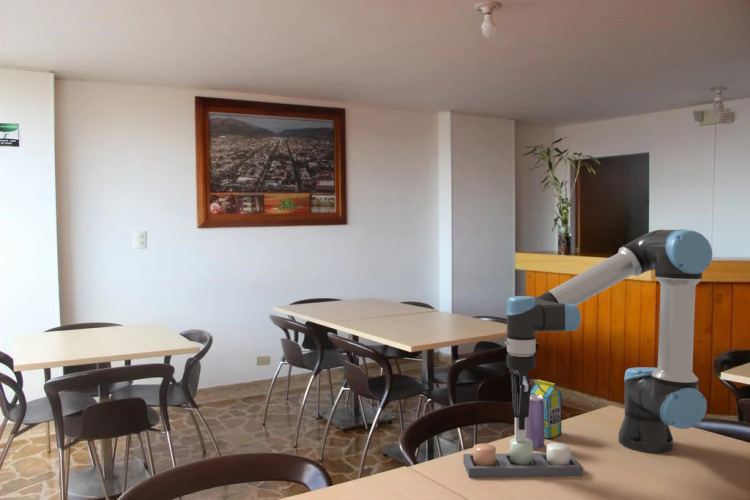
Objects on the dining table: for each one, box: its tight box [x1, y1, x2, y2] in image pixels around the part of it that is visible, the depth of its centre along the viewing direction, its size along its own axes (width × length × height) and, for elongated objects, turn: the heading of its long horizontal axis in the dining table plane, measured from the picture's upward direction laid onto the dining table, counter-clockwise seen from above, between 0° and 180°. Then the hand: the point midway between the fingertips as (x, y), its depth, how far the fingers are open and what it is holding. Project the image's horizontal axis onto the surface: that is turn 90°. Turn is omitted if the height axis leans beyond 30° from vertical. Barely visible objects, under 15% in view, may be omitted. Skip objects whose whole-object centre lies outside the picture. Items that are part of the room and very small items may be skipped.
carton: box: [530, 379, 562, 441], centre depth 186 cm, size 7×8×18 cm
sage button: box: [509, 437, 534, 465], centre depth 159 cm, size 6×6×5 cm
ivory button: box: [546, 442, 571, 465], centre depth 159 cm, size 6×6×5 cm
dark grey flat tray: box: [462, 452, 584, 479], centre depth 159 cm, size 30×10×2 cm, turn 90°
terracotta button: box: [472, 443, 497, 466], centre depth 159 cm, size 6×6×5 cm
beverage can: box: [526, 394, 545, 450], centre depth 176 cm, size 6×6×15 cm
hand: (520, 439), depth 159 cm, fingers closed
